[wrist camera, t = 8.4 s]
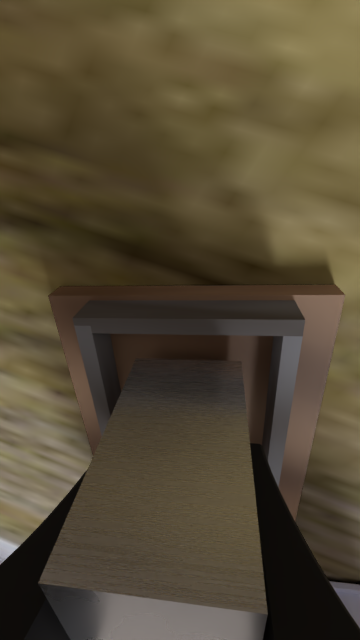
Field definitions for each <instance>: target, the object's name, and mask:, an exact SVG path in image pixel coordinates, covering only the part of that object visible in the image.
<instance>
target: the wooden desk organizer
mask: <svg viewBox="0 0 360 640" xmlns="http://www.w3.org/2000/svg"><path fill="white" fill-rule="evenodd" d="M344 298H345V294H344V293H343V292H342V291H341V290H340V289H339V288H338V287H337V286H336V285H209V286H64V287H59V288H58V289H56V290H55V291H54V292H53V293H51V294H50V295H49V300H50V304H51V307H52V311H53V314H54V318H55V321H56V325H57V329H58V332H59V336H60V339H61V343H62V346H63V350H64V354H65V357H66V361H67V364H68V368H69V371H70V375H71V379H72V382H73V386H74V389H75V393H76V396H77V400H78V404H79V407H80V411H81V414H82V418H83V421H84V425H85V429H86V432H87V436H88V439H89V443H90V446H91V450H92V454H93V456H94V454H95V451H96V449H97V447H98V444H99V442H100V440H101V437H102V435H103V433H104V431H105V428H106V426H107V424H108V421H109V419H110V417H111V414H112V412H113V410H114V408H115V405H116V403H117V401H118V398H119V396H120V394H121V392H122V389H123V387H124V385H125V382H126V380H127V378H128V375H129V373H130V371H131V369H132V366H133V364H134V362H135V359H136V358H149V359H186V360H222V361H241V363H242V372H243V382H244V391H245V401H246V411H247V420H248V430H249V439H250V443H255V444H261V445H262V446H263V449H264V452H265V455H266V458H267V461H268V464H269V466H270V469H271V471H272V474H273V476H274V478H275V481H276V483H277V485H278V488H279V490H280V492H281V494H282V496H283V498H284V500H285V502H286V504H287V506H288V509H289V511H290V513H291V515H292V517H293V519H294V520H296V516H297V511H298V507H299V502H300V498H301V493H302V489H303V484H304V480H305V475H306V470H307V466H308V461H309V457H310V452H311V448H312V443H313V439H314V434H315V430H316V425H317V421H318V416H319V412H320V407H321V402H322V398H323V393H324V389H325V384H326V380H327V375H328V371H329V366H330V362H331V357H332V353H333V348H334V344H335V339H336V335H337V330H338V325H339V321H340V316H341V312H342V307H343V303H344Z"/></svg>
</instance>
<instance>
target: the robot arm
mask: <svg viewBox="0 0 360 640" xmlns="http://www.w3.org/2000/svg"><path fill="white" fill-rule="evenodd" d="M250 449H251V459H252V468H253V478H254V487H255V497H256V507H257V516H258V526H259V536H260V545H261V555H262V564H263V574H264V584H265V593H266V603H267V612H268V616H267V621H266V626H265V631H264V636H263V640H360V585H358V584H350V583H341V582H333V581H329V580H328V579H327V577H326V575H325V574H324V572H323V570H322V569H321V567H320V565H319V564H318V562H317V560H316V559H315V557H314V555H313V553H312V552H311V550H310V548H309V546H308V545H307V543H306V541H305V539H304V537H303V535H302V534H301V532H300V530H299V528H298V526H297V524H296V522H295V520H294V519H293V517H292V515H291V513H290V511H289V509H288V506H287V504H286V502H285V500H284V498H283V496H282V494H281V492H280V490H279V488H278V485H277V483H276V481H275V478H274V476H273V474H272V471H271V469H270V466H269V464H268V461H267V458H266V455H265V452H264V449H263V446H262V445H261V444H255V443H250ZM87 470H88V469H87ZM86 472H87V471H86ZM86 472H85V473H84V474H83V476H82V477H81V478H80V479H79V481H78V482H77V483H76V484H75V486H74V487H73V488H72V489H71V491H70V492H69V493H68V494H67V495H66V496H65V498H64V499H63V500H62V501H61V502H60V503H59V505H58V506H57V507H56V508H55V509H54V510H53V511H52V513H51V514H50V515H49V516H48V517H47V518H46V519H45V520H44V521H43V523H42V524H41V525H40V526H39V527H38V528H37V529H36V530H35V531H34V532H33V533H32V534H31V535H30V536H29V537H28V538H27V539H26V540H25V541H24V542H23V543H22V544H21V545H20V546H19V547H18V548H17V549H16V550H15V551H14V552H13V553H12V554H11V555H10V556H9V557H8V558H7V559H6V560H5V561H4V562H3V563H2V564H1V565H0V640H70V638H69V636H68V635H67V633H66V631H65V629H64V628H63V626H62V624H61V622H60V621H59V619H58V617H57V615H56V614H55V612H54V610H53V608H52V607H51V605H50V603H49V601H48V600H47V598H46V596H45V594H44V593H43V591H42V589H41V587H40V586H39V584H38V582H39V580H40V578H41V575H42V573H43V571H44V568H45V566H46V564H47V562H48V559H49V557H50V555H51V552H52V550H53V548H54V545H55V543H56V541H57V539H58V536H59V534H60V532H61V529H62V527H63V525H64V522H65V520H66V518H67V516H68V513H69V511H70V509H71V506H72V504H73V502H74V500H75V497H76V495H77V493H78V490H79V488H80V486H81V483H82V481H83V479H84V477H85V474H86Z"/></svg>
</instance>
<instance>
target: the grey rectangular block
mask: <svg viewBox="0 0 360 640" xmlns="http://www.w3.org/2000/svg"><path fill="white" fill-rule="evenodd" d="M38 584H39V586H40V587H41V589H42V591H43V593H44V594H45V596H46V598H47V600H48V601H49V603H50V605H51V607H52V608H53V610H54V612H55V614H56V615H57V617H58V619H59V621H60V622H61V624H62V626H63V628H64V629H65V631H66V633H67V635H68V636H69V638H70V640H263V636H264V631H265V626H266V621H267V616H268V612H267V603H266V593H265V584H264V574H263V564H262V555H261V545H260V536H259V526H258V516H257V507H256V497H255V487H254V478H253V468H252V459H251V449H250V439H249V430H248V420H247V411H246V401H245V391H244V382H243V372H242V363H241V361H222V360H186V359H149V358H136V359H135V362H134V364H133V366H132V369H131V371H130V373H129V375H128V378H127V380H126V382H125V385H124V387H123V389H122V392H121V394H120V396H119V398H118V401H117V403H116V405H115V408H114V410H113V412H112V414H111V417H110V419H109V421H108V424H107V426H106V428H105V431H104V433H103V435H102V437H101V440H100V442H99V444H98V447H97V449H96V451H95V454H94V456H93V458H92V460H91V463H90V465H89V467H88V470H87V472H86V474H85V477H84V479H83V481H82V483H81V486H80V488H79V490H78V493H77V495H76V497H75V500H74V502H73V504H72V506H71V509H70V511H69V513H68V516H67V518H66V520H65V522H64V525H63V527H62V529H61V532H60V534H59V536H58V539H57V541H56V543H55V545H54V548H53V550H52V552H51V555H50V557H49V559H48V562H47V564H46V566H45V568H44V571H43V573H42V575H41V578H40V580H39V582H38Z"/></svg>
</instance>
